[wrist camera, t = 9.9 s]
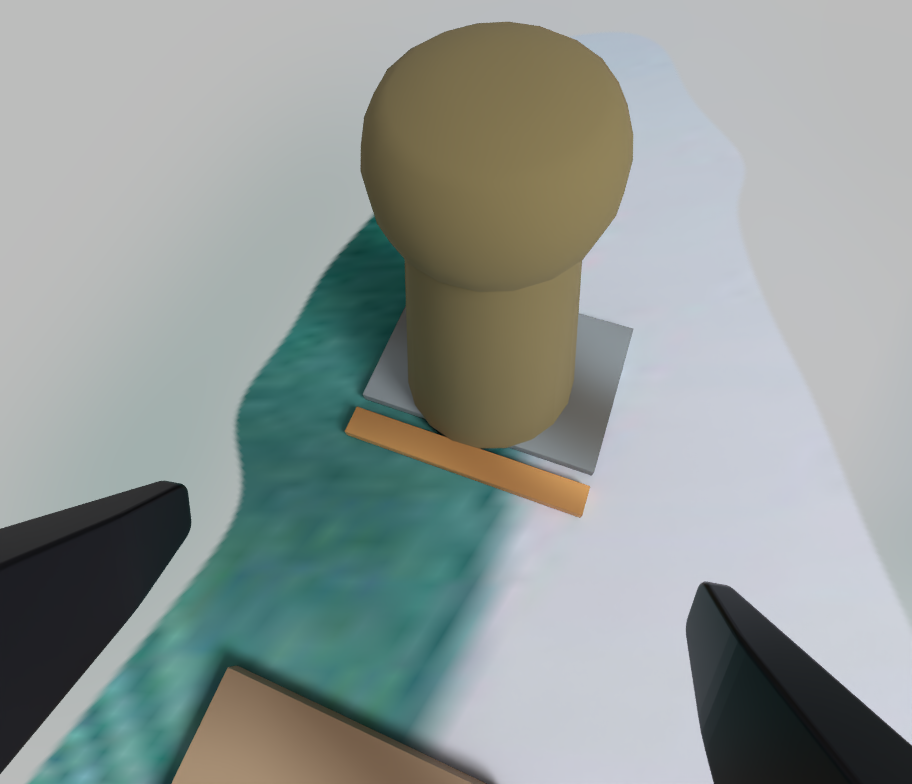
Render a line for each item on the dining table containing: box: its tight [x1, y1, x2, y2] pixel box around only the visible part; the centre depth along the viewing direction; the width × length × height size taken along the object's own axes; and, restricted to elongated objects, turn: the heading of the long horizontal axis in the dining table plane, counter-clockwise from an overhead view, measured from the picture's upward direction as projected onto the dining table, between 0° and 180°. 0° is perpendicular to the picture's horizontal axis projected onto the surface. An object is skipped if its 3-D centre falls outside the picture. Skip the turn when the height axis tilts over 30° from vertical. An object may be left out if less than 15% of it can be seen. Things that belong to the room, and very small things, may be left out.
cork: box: [361, 22, 633, 448], centre depth 13 cm, size 6×6×11 cm
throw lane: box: [171, 306, 633, 784], centre depth 14 cm, size 31×8×1 cm, turn 159°
